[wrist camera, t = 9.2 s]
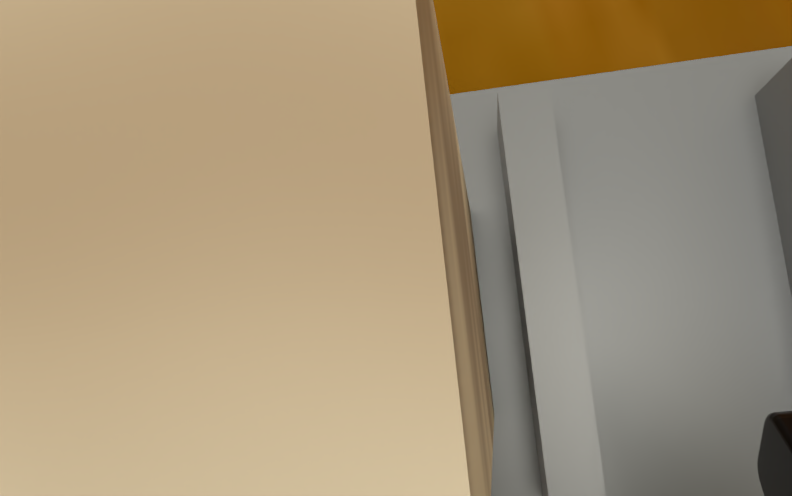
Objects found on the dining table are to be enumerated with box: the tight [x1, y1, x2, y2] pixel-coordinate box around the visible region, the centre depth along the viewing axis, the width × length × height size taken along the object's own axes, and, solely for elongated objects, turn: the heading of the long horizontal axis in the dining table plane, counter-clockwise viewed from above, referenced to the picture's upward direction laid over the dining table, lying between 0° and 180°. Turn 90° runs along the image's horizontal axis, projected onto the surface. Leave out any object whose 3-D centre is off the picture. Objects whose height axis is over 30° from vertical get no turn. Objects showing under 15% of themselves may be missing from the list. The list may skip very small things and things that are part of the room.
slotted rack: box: [450, 46, 792, 496], centre depth 16 cm, size 10×22×3 cm, turn 96°
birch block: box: [0, 0, 494, 496], centre depth 10 cm, size 4×3×13 cm, turn 6°
